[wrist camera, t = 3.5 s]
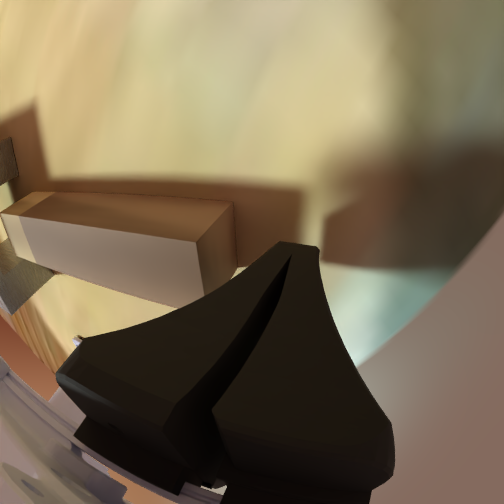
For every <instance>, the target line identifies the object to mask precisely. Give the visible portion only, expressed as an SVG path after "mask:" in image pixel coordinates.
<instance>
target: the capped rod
mask: <svg viewBox="0 0 504 504" xmlns="http://www.w3.org/2000/svg"><path fill="white" fill-rule="evenodd" d="M0 217H1V219H2V222H3V225H4V228H5V230H6V233H7V236H8V238H9V241H10V243H11V246H12V248H13V251H14V253H15V255H16V256H18V257H21V258H23V259H26V260H28V261H31V262H34V263H36V264H39V265H42V266H44V267H47V268H50V269H53V270H55V271H58V272H61V273H64V274H67V275H69V276H72V277H75V278H78V279H81V280H84V281H87V282H90V283H93V284H96V285H99V286H102V287H106V288H109V289H112V290H115V291H118V292H122V293H125V294H128V295H132V296H135V297H138V298H142V299H145V300H149V301H152V302H156V303H160V304H163V305H167V306H170V307H174V308H178V309H179V308H181V307H183V306H186V305H188V304H190V303H192V302H194V301H196V300H198V299H200V298H202V297H203V296H205V295H207V294H209V293H211V292H212V291H214V290H216V289H217V288H219V287H221V286H222V285H223V284H225V283H226V282H228V281H229V280H230V279H231V278H232V276H233V274H234V273H235V271H236V270H237V268H238V267H237V253H236V239H235V225H234V210H233V202H230V201H219V200H207V199H195V198H182V197H168V196H152V195H135V194H114V193H87V192H32V193H30V194H29V195H27V196H25V197H24V198H22V199H20V200H19V201H17V202H16V203H14V204H12V205H11V206H9V207H8V208H6V209H5V210H3V211H2V212H0Z"/></svg>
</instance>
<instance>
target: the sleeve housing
mask: <svg viewBox="0 0 504 504" xmlns="http://www.w3.org/2000/svg"><path fill="white" fill-rule="evenodd" d="M18 175H19V174H18V170H17V165H16V161H15V157H14V152H13V147H12V142H11V137H10V138H7V139H5V140H2V141H0V186H1V185H2V184H4V183H6V182H8V181H9V180H11V179H13V178H15V177H16V176H18ZM53 276H54V274H53V272H52V270H51V269H50V268H47V267H44V266H42V265H39V264H36V263H34V262H31V261H28V260H26V259H23V258H21V257H18V256H16V255H15V253H14V251H13V248H12V246H11V243H10V241H9V238H7V239H6V240H5V241H4V242H2V243H1V244H0V307H1V308H2V309H4V310H5V311H6V312H8V313H9V314H10V315H13V314H14V313H15V312H16V311H17V310H18V309H19V308H20V307H21V306H22V305H23V304H24V303H25V302H26V301H27V300H28V299H29V298H30V297H31V296H32V295H33V294H34V293H35V292H36V291H37V290H38V289H40V288H41V287H42V286H43V285H44V284H45V283H46V282H47V281H48V280H49V279H50V278H52V277H53Z"/></svg>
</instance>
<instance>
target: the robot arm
mask: <svg viewBox="0 0 504 504" xmlns="http://www.w3.org/2000/svg"><path fill="white" fill-rule="evenodd" d="M319 253H320V250H319V249H318V247H316V246H310V245H303V244H296V243H289V242H282V241H280V242H278V243H277V244H276V245H274V246H273V247H272V248H271V249H269V250H268V251H267V252H266V253H265V254H264V255H262V256H261V257H260V258H259V259H257V260H256V261H255V262H254V263H252V264H251V265H250V266H249V267H247V268H246V269H245V270H243V271H242V272H241V273H239V274H238V275H237V276H235V277H234V278H232V279H231V280H229V281H228V282H226V283H225V284H223V285H222V286H221V287H219V288H217V289H216V290H214V291H212V292H211V293H209V294H207V295H205V296H203V297H202V298H200V299H198V300H196V301H194V302H192V303H190V304H188V305H186V306H183V307H181V308H179V309H177V310H174V311H172V312H170V313H168V314H165V315H163V316H161V317H158V318H155V319H153V320H150V321H147V322H144V323H141V324H138V325H135V326H132V327H128V328H125V329H121V330H118V331H113V332H109V333H105V334H101V335H96V336H92V337H87V338H84V339H83V340H81V339H79V338H77V337H74V338H73V342H74V344H75V345H76V347H77V348H76V349H75V350H74V351H73V352H72V354H71V355H70V356H69V357H68V358H67V360H66V361H65V362H64V363H63V365H62V366H61V367H60V368H59V369H58V371H57V372H56V373H55V374H56V380H57V383H58V384H59V386H60V387H59V388H58V389H57V391H56V392H55V394H54V395H53V396H52V397H51V399H50V400H49V401H47V400H45V399H44V398H43V397H42V396H40V395H39V394H38V393H37V392H36V391H34V390H33V389H32V388H31V387H30V386H29V385H28V384H26V383H25V382H24V381H23V380H22V379H21V378H20V377H19V376H17V374H15V373H14V372H13V371H12V370H11V369H10V367H9V365H8V364H7V363H6V362H5V360H4V359H3V358H2V357H1V356H0V504H133V503H131V502H129V501H127V500H126V499H124V498H123V496H124V494H125V493H126V491H127V487H126V486H124V485H122V484H121V483H119V482H118V481H116V480H114V479H113V478H111V477H110V475H109V473H108V472H107V471H108V468H106V467H105V466H107V467H109V468H110V469H112V470H113V471H115V472H117V473H118V474H120V475H122V476H124V477H125V478H127V479H129V480H131V481H133V482H134V483H136V484H138V485H140V486H142V487H144V488H146V489H148V490H150V491H152V492H154V493H156V494H158V495H160V496H162V497H165V498H167V499H169V500H171V501H173V502H176V503H178V504H369V502H370V497H371V492H372V490H373V489H375V488H376V487H378V486H380V485H382V484H383V483H385V482H386V481H387V480H389V479H390V478H391V477H392V476H393V471H394V467H395V446H394V436H393V430H392V424H391V422H390V420H389V419H388V418H387V416H386V415H385V413H384V412H383V410H382V409H381V408H380V406H379V405H378V403H377V402H376V400H375V399H374V398H373V396H372V394H371V393H370V391H369V389H368V388H367V386H366V384H365V383H364V381H363V379H362V378H361V376H360V374H359V373H358V371H357V369H356V367H355V365H354V363H353V361H352V359H351V357H350V355H349V354H348V352H347V350H346V348H345V346H344V343H343V341H342V339H341V337H340V335H339V332H338V330H337V327H336V325H335V322H334V320H333V317H332V314H331V311H330V308H329V305H328V302H327V299H326V295H325V292H324V288H323V283H322V279H321V274H320V267H319ZM86 453H87V454H88V455H90V456H91V457H93V458H94V459H96V460H97V461H99V462H100V463H102V464H104V465H105V466H103V465H101V464H100V463H99V462H97V461H96V460H94V459H93V458H91V457H90V456H88V455H87V454H86ZM225 485H226V486H227V488H226V490H225V493H224V495H220V494H217V493H214V492H211V491H209V490H206V489H203V488H200V487H201V486H204V487H207V488H210V489H212V488H214V489H217V488H220V487H223V486H225Z"/></svg>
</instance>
